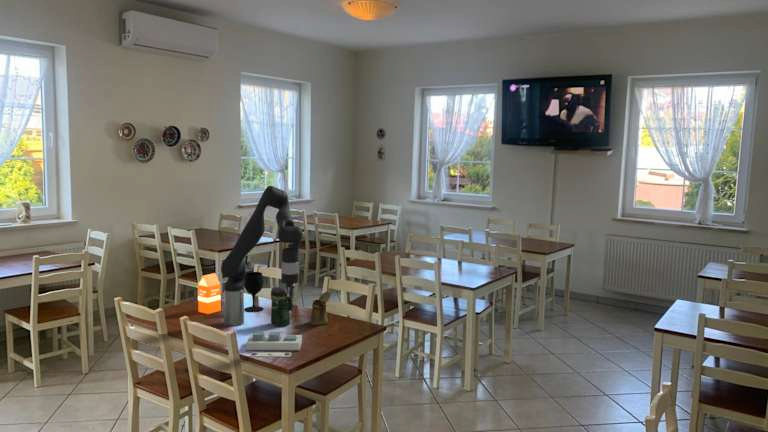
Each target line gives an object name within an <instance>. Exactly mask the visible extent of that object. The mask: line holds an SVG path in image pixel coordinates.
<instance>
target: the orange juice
mask: <svg viewBox="0 0 768 432" xmlns="http://www.w3.org/2000/svg"><path fill="white" fill-rule="evenodd" d="M197 301H198V302H197V303H198V304H197V305H198V306H197V308H198V313H202V314H206V315H210V314H212V313H216V312H221V311H222V309H221V308H222V307H221V303H222V299H221V283H220V281H219V279H218V276H217V274H216V272H213V273H209V274H205V275H202V276H201V277H200V280H199V282H198V284H197Z"/></svg>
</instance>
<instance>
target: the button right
mask: <svg viewBox="0 0 768 432" xmlns="http://www.w3.org/2000/svg"><path fill="white" fill-rule="evenodd" d="M285 335H286V337H285V341H296V335H297V334H285Z"/></svg>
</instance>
